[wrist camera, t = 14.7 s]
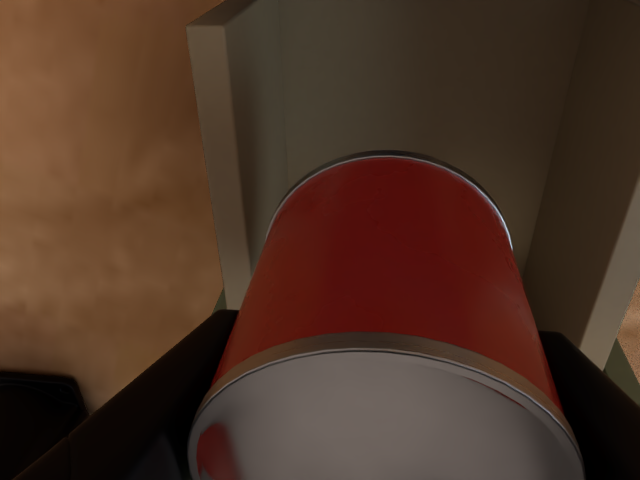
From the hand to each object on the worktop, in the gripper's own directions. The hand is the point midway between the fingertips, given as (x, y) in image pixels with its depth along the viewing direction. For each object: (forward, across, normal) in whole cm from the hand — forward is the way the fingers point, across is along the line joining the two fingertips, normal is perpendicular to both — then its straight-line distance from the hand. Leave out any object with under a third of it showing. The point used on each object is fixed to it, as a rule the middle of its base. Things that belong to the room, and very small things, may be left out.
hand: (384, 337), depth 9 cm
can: (+2, 0, 0) cm, 2 cm away
